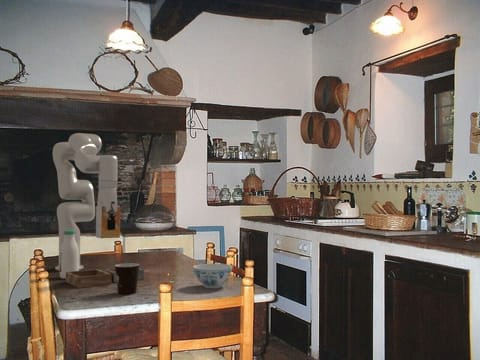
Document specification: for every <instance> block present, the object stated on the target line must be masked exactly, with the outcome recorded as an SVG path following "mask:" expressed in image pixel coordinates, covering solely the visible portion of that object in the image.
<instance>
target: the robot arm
mask: <svg viewBox="0 0 480 360" xmlns="http://www.w3.org/2000/svg"><path fill="white" fill-rule="evenodd" d="M102 145H103V143H102V139H101V138H100V136H99V135H97V134H93V133H81V132H77V133H72V134H71V135H70V136H69V138H68V141H62V142H58V143H55V144H54V145H53V148H52V160H53V163H54V166H55V169H56V172H57V174H56V175H57V182H58V184H57V185H58V194H59V198H60V199H62V200H68V201H67V202H66V201H65V202H62V203H60V204H59V205H58V206H57V208H56V216H57V217H56V218H57V222H58V265H57V266H55V271H59V272H60V249H61V246H62V243H63V241H64V231H66V230H74V231H75V241H76V243H77V245H78V249H79V271H81V270H83V269H84V265H83V264H81V231H80V228H79V226H77V224H76V223H85V222H91V221H93V220H94V219H95V218H96V206H95V205H96V204H95V203H96V202H95V194H94V191H95V190H94V186H93V183H92V182H91V181H89V180H88V179H78V177H77V170H76V169H75V166H76V168H77V169H78V170H79V171H80V172H82V173H83V174H84V173H85V174H98V195H97V206H104V212H105V213H107V212H108V220H107V229H108V230H115V220H116V213H117V206H118V193H117V190H118V168H119V166H118V163H119V161H118V157H117V156H116V155H112V154H111V155H110V154H104V155H103V154H102V155H97V154H98V153H99V152H100V151H101V149H102ZM70 161H74V164H75V166H74V165H73V164H72V163H71V162H70ZM69 200H75V201H69ZM76 200H81V201H76ZM110 210H113V212H109V211H110ZM110 214H111V216H110Z"/></svg>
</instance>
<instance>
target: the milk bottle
mask: <svg viewBox="0 0 480 360" xmlns="http://www.w3.org/2000/svg"><path fill="white" fill-rule="evenodd" d="M72 271H80V270H79V249H78V245H77V243H76V241H75V231H74V230H66V231H64V241H63V243H62V246H61V249H60V271H59V278H60V279H65V280H66V272H72Z"/></svg>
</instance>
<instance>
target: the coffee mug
mask: <svg viewBox="0 0 480 360" xmlns="http://www.w3.org/2000/svg"><path fill="white" fill-rule="evenodd" d="M114 268H115V271H116V279H117V283H116V286H117V287H116V289H117V294H118V295H120V294H121V295H122V296H126V295H127V296H128V295H130V294H131V295H135V294H137V288H138V282H139V280H138V273H139V268H140V264H139V263H131V262H130V263H118V264H115V265H114ZM121 295H120V296H121ZM131 295H130V296H131Z"/></svg>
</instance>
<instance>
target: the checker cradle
mask: <svg viewBox="0 0 480 360" xmlns="http://www.w3.org/2000/svg"><path fill="white" fill-rule="evenodd" d="M103 271H104V272H107V273H110V274H111V283H115V282H117V279H116V271H115V267H114V268H105V269H103ZM141 280H145V271H144V269H142V268H140V267H139V273H138V281H141Z"/></svg>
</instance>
